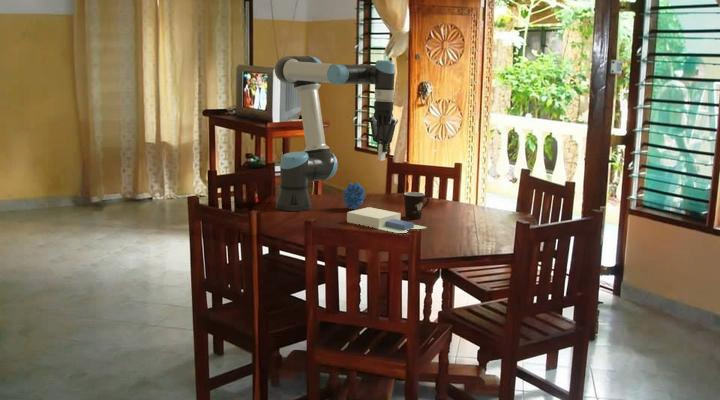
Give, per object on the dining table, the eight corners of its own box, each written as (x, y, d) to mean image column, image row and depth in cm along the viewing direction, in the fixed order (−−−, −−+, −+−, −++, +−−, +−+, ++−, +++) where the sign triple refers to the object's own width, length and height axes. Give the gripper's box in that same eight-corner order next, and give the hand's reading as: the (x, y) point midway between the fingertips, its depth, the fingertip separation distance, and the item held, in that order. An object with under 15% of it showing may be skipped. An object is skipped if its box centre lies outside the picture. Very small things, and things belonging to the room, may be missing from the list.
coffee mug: (405, 220, 312) (406, 196, 310) (400, 215, 320) (401, 192, 318) (433, 220, 314) (434, 195, 312) (427, 215, 323) (428, 191, 321)
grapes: (370, 210, 329) (371, 182, 327) (361, 212, 324) (362, 184, 321) (349, 206, 336) (349, 179, 334) (339, 208, 331) (340, 180, 328)
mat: (377, 229, 295) (377, 228, 295) (401, 222, 308) (401, 222, 308) (402, 234, 288) (402, 234, 288) (426, 227, 300) (426, 227, 300)
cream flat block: (346, 221, 306) (347, 212, 305) (368, 216, 317) (369, 207, 316) (378, 228, 296) (379, 218, 295) (400, 223, 307) (400, 213, 306)
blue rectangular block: (385, 226, 299) (385, 221, 299) (395, 224, 304) (395, 219, 303) (404, 230, 294) (404, 225, 293) (413, 228, 298) (413, 222, 298)
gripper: (364, 99, 302) (362, 159, 307) (391, 102, 294) (389, 163, 299) (376, 99, 308) (374, 157, 313) (403, 101, 300) (400, 161, 305)
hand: (381, 160), depth 306 cm, fingers closed
